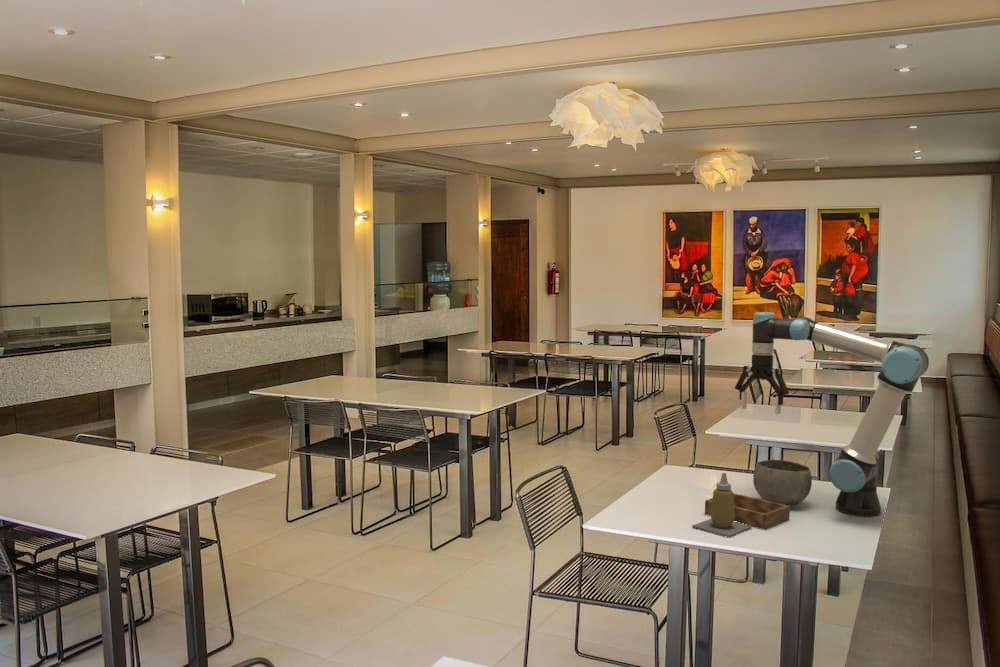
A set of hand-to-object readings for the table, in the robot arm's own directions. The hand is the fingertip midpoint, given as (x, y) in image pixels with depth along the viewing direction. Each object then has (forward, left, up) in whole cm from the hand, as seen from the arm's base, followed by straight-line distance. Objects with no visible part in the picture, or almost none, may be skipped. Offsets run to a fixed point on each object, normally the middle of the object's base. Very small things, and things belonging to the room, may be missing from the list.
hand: (760, 411), depth 307 cm
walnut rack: (-7, +19, -35) cm, 40 cm away
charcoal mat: (-8, +37, -35) cm, 52 cm away
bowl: (-7, -6, -35) cm, 36 cm away
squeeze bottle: (-8, +37, -34) cm, 51 cm away
